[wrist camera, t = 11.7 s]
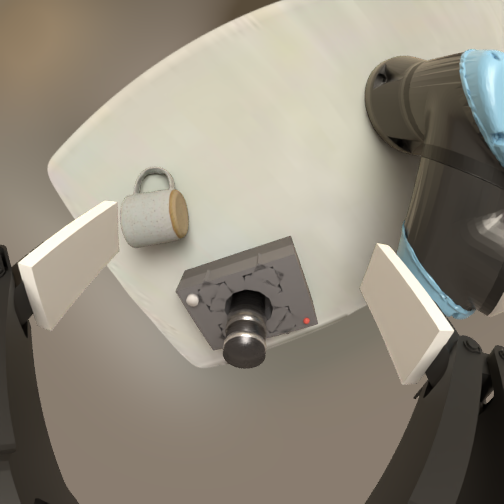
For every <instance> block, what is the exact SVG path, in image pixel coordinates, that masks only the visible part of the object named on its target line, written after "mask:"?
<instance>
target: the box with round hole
mask: <svg viewBox="0 0 504 504" xmlns="http://www.w3.org/2000/svg"><path fill="white" fill-rule="evenodd" d="M245 289H247V290H253V291H259V292H261V293H262V294H264V295H265V315H266V338H269V337H273V336H277V335H281V334H285V333H286V334H289V332H292V331H295V330H299V329H303V328H306V327H309V326H313V325H316V324H318V322H317V318H316V313H315V309H314V305H313V301H312V298H311V295H310V292H309V288H308V285H307V282H306V279H305V276H304V273H303V270H302V267H301V264H300V261H299V258H298V256H297V253H296V250H295V247H294V244H293V241H292V238H291V236H289V237H285V238H282V239H279V240H276V241H273V242H270V243H267V244H264V245H261V246H258V247H255V248H252V249H249V250H246V251H243V252H240V253H237V254H234V255H231V256H228V257H225V258H222V259H219V260H216V261H213V262H210V263H207V264H204V265H201V266H198V267H195V268H192V269H189V270H186V271H185V272H184V274H183V276H182V279H181V281H180V283H179V285H178V287H177V289H176V293H177V294H178V296H179V298H180V299H181V301H182V303H183V304H184V306H185V307H186V309H187V311H188V312H189V314H190V315H191V317H192V319H193V320H194V322H195V323H196V325H197V326H198V328H199V330H200V331H201V333H202V334H203V336H204V337H205V339H206V340H207V342H208V343H209V345H210V346H211V348H212V349H213V350H218V349H222V348H223V346H224V340H225V338H226V334H225V330H226V324H227V318H228V313H229V312H230V306H231V299H232V294H233V293H235V292H239V291H242V290H245Z"/></svg>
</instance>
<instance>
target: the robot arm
mask: <svg viewBox="0 0 504 504" xmlns="http://www.w3.org/2000/svg"><path fill="white" fill-rule="evenodd" d="M365 103H366V109H367V113H368V116H369V118H370V121H371V123H372V125H373V127H374V128H375V130H376V131H377V133H378V134H379V135H380V137H381V138H382V139H383V140H384V141H385V142H386V143H388V144H389V145H390V146H392V147H393V148H395V149H397V150H399V151H402V152H405V153H408V154H412V155H422V157H421V160H420V165H419V169H418V174H417V178H416V183H415V187H414V191H413V195H412V199H411V203H410V206H409V210H408V214H407V217H406V220H404V222H403V225H402V234H401V239H400V242H399V246H398V250H397V254H396V253H395V252H394V251H393V250H392V249H391V247H390V246H388V245H383V244H378V243H376V246H375V249H374V252H373V255H372V257H371V260H370V263H369V266H368V268H367V271H366V273H365V276H364V279H363V281H362V284H361V286H360V290H361V293H362V295H363V297H364V299H365V301H366V303H367V305H368V307H369V309H370V311H371V313H372V316H373V318H374V320H375V322H376V324H377V326H378V329H379V331H380V333H381V335H382V338H383V340H384V342H385V344H386V347H387V349H388V351H389V354H390V355H391V359H392V361H393V363H394V366H395V368H396V371H397V373H398V376H399V378H400V381H401V383H402V385H405V384H417V382H418V381H419V380H420V379H421V378H422V376H423V375H424V374H425V373H426V375H427V378H428V380H427V382H426V383H425V384H424V385H423V387H422V388H421V389H420V390H419V391H418V393H417V394H416V395H415V396H414V399H416V398H417V397H418V396H419V399H418V402H417V404H416V407H415V409H414V412H413V414H412V417H411V419H410V421H409V424H408V426H407V428H406V430H405V433H404V435H403V437H402V439H401V441H400V443H399V445H398V447H397V449H396V451H395V453H394V455H393V457H392V459H391V461H390V463H389V465H388V466H387V468H386V470H385V472H384V473H383V475H382V477H381V479H380V481H379V482H378V484H377V485H376V487H375V489H374V490H373V492H372V493H371V495H370V496H369V498H368V500H367V501H366V503H365V504H504V347H502V346H499V345H497V346H495V347H494V349H493V350H492V352H491V353H490V354H486V353H483V352H482V349H481V347H480V346H479V344H478V343H477V342H476V341H475V340H473V339H472V338H470V337H468V336H459V334H458V333H457V331H456V330H455V328H454V327H453V325H452V324H451V322H450V321H449V320H448V318H446V316H447V317H450V316H451V315H452V316H453V317H454V318H455V319H465V318H467V317H469V316H470V315H472V314H473V313H474V312H475V310H476V309H477V310H479V311H480V312H482V313H484V314H485V315H487V316H488V317H492V316H494V315H497V314H500V313H502V312H504V53H503V52H501V51H497V50H476V49H470V50H467V51H465V52H462V53H458V54H453V55H448V56H444V57H440V58H436V59H432V60H428V61H427V60H423V59H420V58H416V57H411V56H397V57H393V58H391V59H388V60H386V61H384V62H382V63H380V64H379V65H378V66H377V67H376V68H375V69H374V70H373V71H372V73H371V74H370V76H369V78H368V81H367V84H366V90H365ZM118 252H119V236H118V206H117V202H113V201H104V202H102V203H100V204H99V205H97V206H96V207H94V208H93V209H91V210H89V211H88V212H86V213H85V214H83V215H82V216H80V217H79V218H77V219H76V220H74V221H73V222H71V223H70V224H69V225H67V226H66V227H64V228H63V229H61V230H60V231H59V232H57V233H56V234H54V235H53V236H52V237H50V238H49V239H48V240H46V241H44V242H42V243H41V244H40V245H38V246H37V247H36V248H35V249H33V250H32V251H31V252H30V253H29V254H27V255H26V256H25V257H23V258H22V259H21V260H19V261H18V262H17V263H16V264H15V265H14V266H13V267H11V264H10V260H9V256H8V252H7V248H6V247H5V246H4V245H0V504H79V503H78V502H77V500H76V499H75V497H74V496H73V495H72V493H71V492H70V491H69V490H68V488H67V487H66V484H65V482H64V480H63V478H62V475H61V472H60V469H59V467H58V464H57V461H56V459H55V455H54V452H53V449H52V446H51V443H50V439H49V436H48V432H47V428H46V425H45V421H44V417H43V412H42V408H41V403H40V398H39V393H38V387H37V381H36V374H35V367H34V359H33V349H32V337H31V326H30V322H29V320H28V319H29V318H30V316H31V315H32V314H34V317H35V320H36V323H37V325H38V326H39V327H42V328H44V329H47V330H49V331H52V330H53V328H54V327H55V326H56V325H57V323H58V322H59V321H60V319H61V318H62V317H63V316H64V314H65V313H66V312H67V311H68V309H69V308H70V307H71V305H72V304H73V303H74V302H75V301H76V299H77V298H78V297H79V296H80V295H81V294H82V292H83V291H84V290H85V289H86V288H87V286H88V285H89V284H90V283H91V282H92V281H93V280H94V278H95V277H96V276H97V275H98V274H99V273H100V272H101V270H102V269H103V268H104V267H105V266H106V265H107V264H108V263H109V262H110V261H111V259H112V258H113V257H114V256H115V255H116V254H117V253H118ZM493 390H494V397H493V398H492V399H491V400H490V401H489V402H488V403H487V404H486V398H487V397H488V396H489V395H490V394H491V392H492V391H493Z"/></svg>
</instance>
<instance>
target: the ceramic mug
mask: <svg viewBox="0 0 504 504" xmlns="http://www.w3.org/2000/svg"><path fill="white" fill-rule="evenodd" d="M153 173H159V174H162V173H165V174H166V176H167V177H168V181H169V186H170V187H169V189H166V190H159V191H154V192H146V193H139V192H140V186H141V183H142V181H143V179H144V177H145V176H146V175H148V174H153ZM120 222H121V228H122V232H123V235H124V237H125V239H126V241H127V243H128V244H129V245H130V246H131V247H134V248H139V247H144V246H149V245H155V244H160V243H165V242H172V241H176V240H179V239H181V238H183V237H184V236H185V235H186V233H187V231H188V211H187V206H186V202H185V199H184V197H183V195H182V194H181V193H180V192H179V191H178V190H175V189H174V181H173V178H172V176H171V174H170V173H169V172H168V171H166V170H165V169H163V168H161V167H150V168H147V169H145V170H143V171H142V172H141V173H140V175H139V176H138V178H137V180H136V183H135V186H134V194H133V195H129V196H127V197H125V198H124V200H123V202H122V205H121V210H120Z"/></svg>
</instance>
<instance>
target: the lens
mask: <svg viewBox="0 0 504 504" xmlns="http://www.w3.org/2000/svg"><path fill="white" fill-rule="evenodd" d="M225 334H226V338H225V340H224V346H223V350H224V351H223V357H224V359H225V360H226V361H227V362H228V363H229V364H231V365H233V366H235V367H238V368H253V367H256V366H258V365H260V364H261V363H262V362H263V361H264V359H265V353H266V342H265V338H266V315H265V295H264V294H262V293H261V292H259V291H253V290H247V289H245V290H242V291H239V292H235V293H233V294H232V299H231V306H230V312H229V313H228V318H227V324H226V330H225Z"/></svg>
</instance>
